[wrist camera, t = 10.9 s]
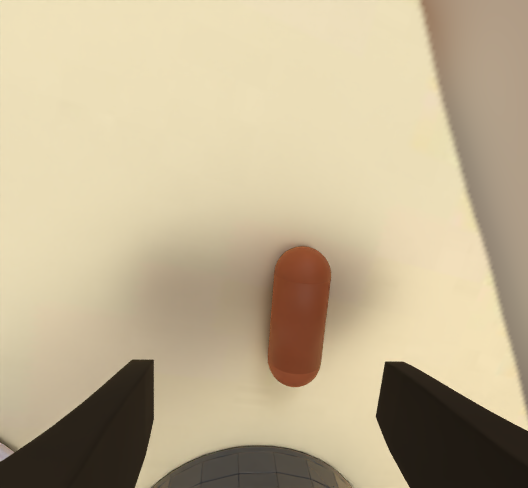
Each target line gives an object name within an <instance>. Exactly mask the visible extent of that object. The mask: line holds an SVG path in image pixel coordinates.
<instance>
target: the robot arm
mask: <svg viewBox="0 0 528 488" xmlns="http://www.w3.org/2000/svg"><path fill="white" fill-rule="evenodd" d="M376 418H377V421H378V424H379V426H380V429H381V431H382V434H383V436H384V439H385V441H386V444H387V446H388V448H389V450H390V452H391V454H392V456H393V458H394V460H395V462H396V463H397V465H398V467H399V469H400V471H401V473H402V474H403V476H404V478H405V480H406V482H407V483H408V485H409V487H410V488H528V431H527V430H525V429H523V428H521V427H519V426H517V425H515V424H513V423H511V422H509V421H507V420H505V419H504V418H502V417H500V416H498V415H496V414H494V413H492V412H491V411H489V410H487V409H485V408H483V407H482V406H480V405H478V404H476V403H475V402H473V401H471V400H470V399H468V398H466V397H464V396H463V395H461V394H459V393H458V392H456V391H454V390H453V389H451V388H449V387H447V386H446V385H444V384H442V383H441V382H439V381H437V380H436V379H434V378H432V377H431V376H429V375H427V374H426V373H424V372H422V371H420V370H419V369H417V368H415V367H413V366H411V365H409V364H407V363H405V362H385V366H384V372H383V378H382V384H381V390H380V395H379V401H378V407H377V413H376ZM153 420H154V360H131V361H130V362H129V363H128V364H127V365H125V366H124V367H123V368H122V369H121V370H120V371H119V372H117V373H116V374H115V375H114V376H113V377H112V378H111V379H110V380H108V381H107V382H106V383H105V384H104V385H103V386H102V387H101V388H99V389H98V390H97V391H96V392H95V393H94V394H92V395H91V396H90V397H89V398H88V399H86V400H85V401H84V402H83V403H82V404H80V405H79V406H78V407H77V408H75V409H74V410H73V411H71V412H70V413H69V414H68V415H66V416H65V417H64V418H62V419H61V420H60V421H59V422H57V423H56V424H55V425H53V426H52V427H51V428H49V429H48V430H47V431H45V432H44V433H43V434H41V435H40V436H38V437H37V438H35V439H34V440H33V441H31V442H30V443H28V444H27V445H25V446H24V447H22V448H20V449H19V450H17V451H16V452H14V451H12V450H11V449H9V448H8V447H6V446H5V445H4V444H2V443H1V442H0V488H135V485H136V482H137V479H138V476H139V473H140V470H141V467H142V464H143V461H144V458H145V455H146V451H147V447H148V443H149V438H150V434H151V429H152V425H153Z"/></svg>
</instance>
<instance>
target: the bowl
mask: <svg viewBox="0 0 528 488" xmlns="http://www.w3.org/2000/svg"><path fill="white" fill-rule="evenodd" d="M152 488H352V487H351V486H350V484H349V483H348V482H347V481H346V480H345V479H344V478H343V477H342V475H341V474H339V473H338V472H337V471H336V470H334V469H333V468H332V467H331V466H329V465H327V464H326V463H324V462H322V461H321V460H319V459H317V458H315V457H312V456H310V455H307V454H305V453H302V452H298V451H295V450H291V449H286V448H279V447H273V446H247V447H237V448H231V449H226V450H221V451H217V452H214V453H211V454H208V455H204V456H202V457H199V458H197V459H195V460H192V461H190V462H188V463H186V464H184V465H182V466H181V467H179V468H177V469H175V470H174V471H172V472H171V473H169V474H168V475H167V476H165V477H164V478H163V479H161V480H160V481H159V482H158V483H157V484H156V485H154V486H153V487H152Z"/></svg>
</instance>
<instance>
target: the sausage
mask: <svg viewBox="0 0 528 488" xmlns="http://www.w3.org/2000/svg"><path fill="white" fill-rule="evenodd" d="M330 281H331V270H330V266H329V264H328V261H327V260H326V258H325V257H324V256H323V255H322V254H321V253H320V252H319V251H317V250H315V249H313V248H310V247H305V246H301V247H295V248H292V249H290V250H288V251H286V252H285V253H284V254H283V255H282V256H281V257H280V258H279V260H278V261H277V264H276V266H275V271H274V284H273V297H272V310H271V323H270V335H269V348H268V364H269V368H270V371H271V372H272V374H273V376H274V377H275V378H276V379H277V380H278V381H279V382H281V383H282V384H284V385H286V386H290V387H300V386H304V385H306V384H308V383H309V382H311V381H312V380H313V379H314V378H315V377H316V375H317V373H318V371H319V369H320V365H321V357H322V349H323V340H324V332H325V323H326V315H327V307H328V298H329V290H330Z"/></svg>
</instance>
